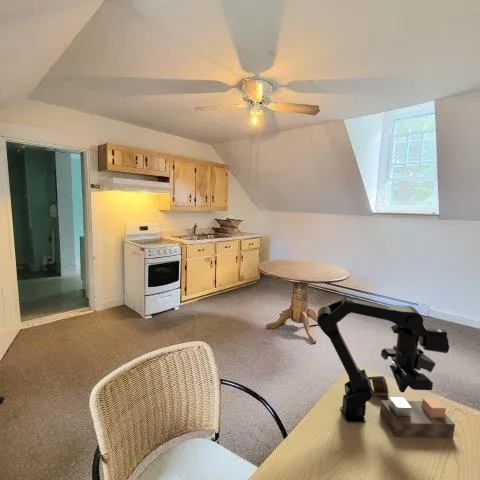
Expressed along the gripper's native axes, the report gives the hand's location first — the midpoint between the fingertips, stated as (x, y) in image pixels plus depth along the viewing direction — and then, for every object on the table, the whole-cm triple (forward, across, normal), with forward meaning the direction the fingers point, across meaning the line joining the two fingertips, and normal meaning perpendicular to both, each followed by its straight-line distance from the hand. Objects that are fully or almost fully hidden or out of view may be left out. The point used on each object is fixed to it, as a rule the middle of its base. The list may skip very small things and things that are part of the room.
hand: (401, 391), depth 91 cm
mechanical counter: (+12, +16, +1) cm, 21 cm away
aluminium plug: (+9, 0, 0) cm, 9 cm away
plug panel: (+12, 0, -6) cm, 13 cm away
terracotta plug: (+9, 0, -11) cm, 14 cm away
